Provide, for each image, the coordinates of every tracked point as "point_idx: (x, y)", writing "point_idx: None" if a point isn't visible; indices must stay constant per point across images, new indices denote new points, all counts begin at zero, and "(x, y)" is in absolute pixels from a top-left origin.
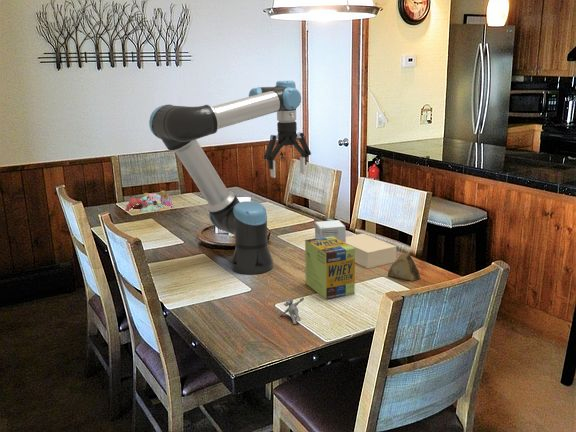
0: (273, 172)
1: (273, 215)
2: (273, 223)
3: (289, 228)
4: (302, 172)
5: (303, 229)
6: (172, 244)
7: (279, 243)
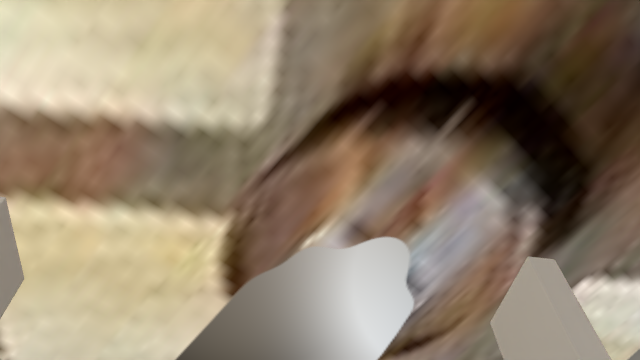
0: (585, 327)
1: (104, 339)
2: (164, 268)
3: (141, 178)
4: (5, 237)
5: (86, 125)
6: (622, 285)
7: (331, 23)
